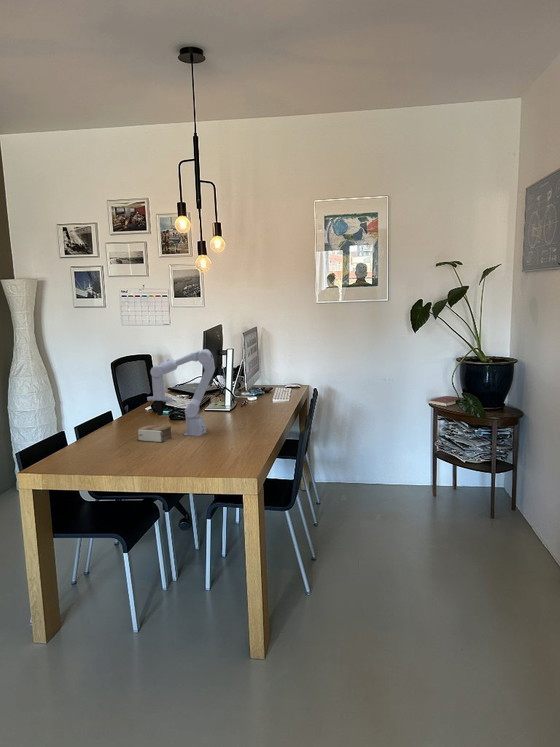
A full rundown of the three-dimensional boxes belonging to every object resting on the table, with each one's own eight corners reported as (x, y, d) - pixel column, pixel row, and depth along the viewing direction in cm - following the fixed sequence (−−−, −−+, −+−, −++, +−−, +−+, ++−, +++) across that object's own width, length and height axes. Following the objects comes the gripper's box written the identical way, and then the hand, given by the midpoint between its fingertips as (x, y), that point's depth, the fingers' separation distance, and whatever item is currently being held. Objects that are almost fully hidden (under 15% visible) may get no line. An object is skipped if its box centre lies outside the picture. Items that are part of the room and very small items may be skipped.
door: (163, 441, 254) (162, 431, 254) (161, 442, 253) (160, 432, 252) (140, 439, 260) (139, 429, 259) (137, 440, 258) (136, 430, 257)
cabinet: (172, 437, 261) (171, 426, 260) (164, 441, 255) (163, 429, 254) (147, 436, 266) (146, 424, 265) (139, 440, 260) (138, 428, 259)
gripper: (174, 388, 264) (176, 414, 266) (152, 387, 271) (155, 412, 273) (165, 390, 258) (167, 417, 260) (143, 389, 265) (145, 415, 267)
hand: (160, 415), depth 266 cm, fingers closed
